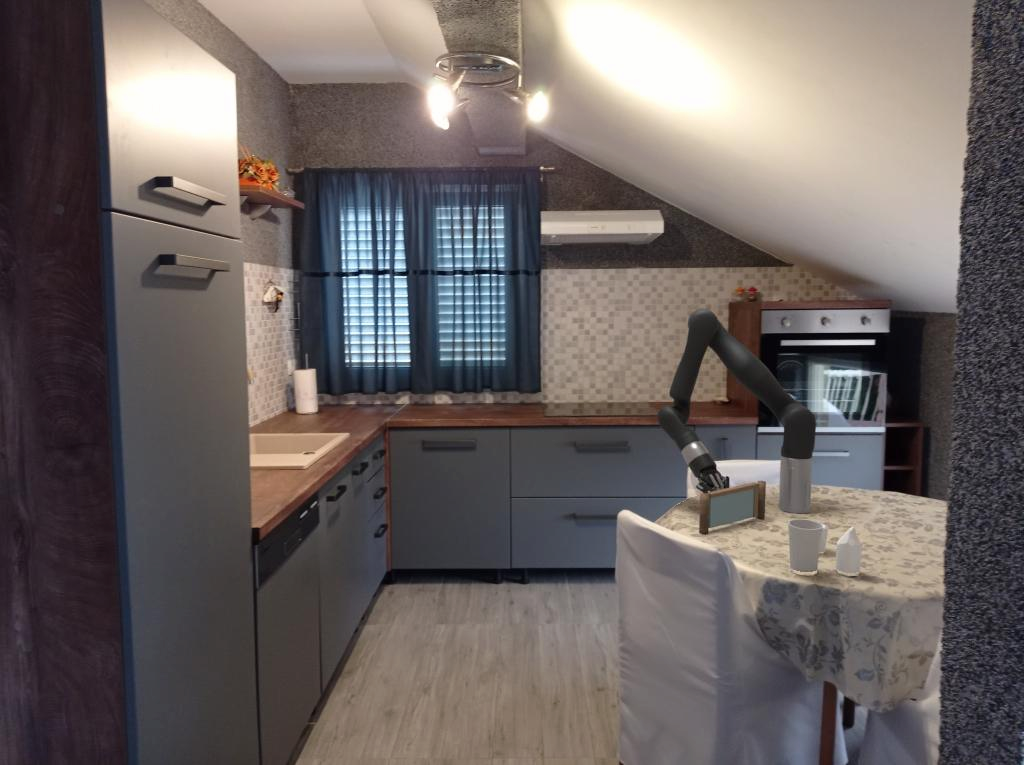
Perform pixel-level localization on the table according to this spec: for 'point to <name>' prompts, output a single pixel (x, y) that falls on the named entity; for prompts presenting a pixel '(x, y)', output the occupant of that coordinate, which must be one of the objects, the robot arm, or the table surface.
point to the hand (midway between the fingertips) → (728, 507)
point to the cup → (804, 544)
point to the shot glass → (823, 538)
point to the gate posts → (705, 508)
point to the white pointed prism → (849, 552)
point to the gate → (733, 504)
